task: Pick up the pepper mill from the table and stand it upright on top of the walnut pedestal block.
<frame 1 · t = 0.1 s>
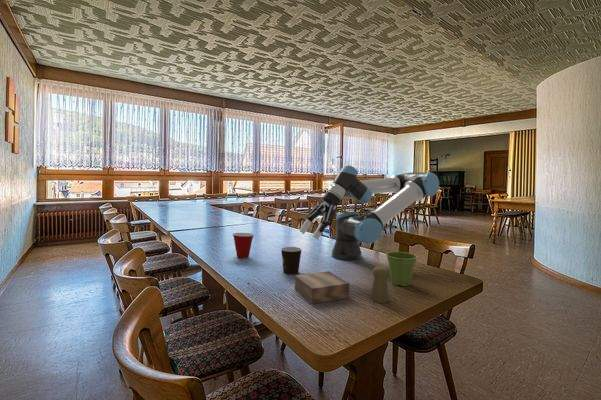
hand: (307, 235, 134), 15 cm above the table, tool tilted 35°, fingers open, 13 cm apart
plant pot: (400, 283, 120), on the table
walnut pedestal: (320, 293, 108), on the table
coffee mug: (291, 271, 133), on the table
pepper mill: (379, 299, 104), on the table
plastic cup: (243, 257, 154), on the table
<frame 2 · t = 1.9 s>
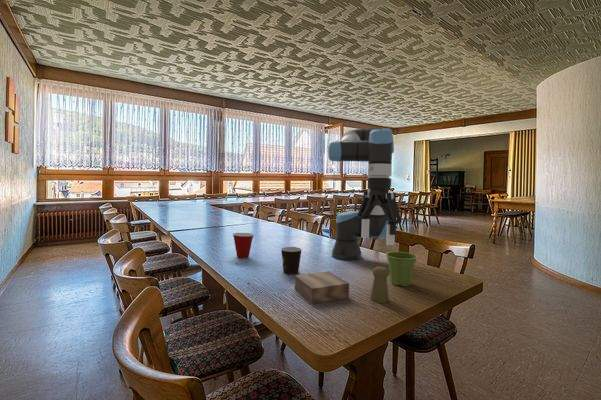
hand: (376, 241, 103), 20 cm above the table, tool pointing down, fingers open, 13 cm apart
nothing on the table moved.
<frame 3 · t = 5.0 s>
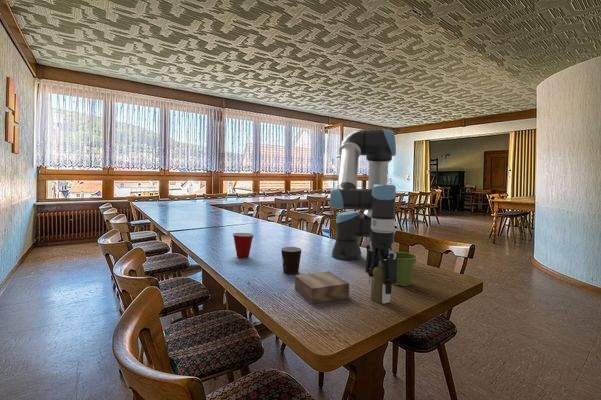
hand: (379, 298, 103), 0 cm above the table, tool pointing down, fingers closed on pepper mill, 6 cm apart
pepper mill: (379, 299, 104), on the table, touching gripper
everything else where it was.
when the fingers open (6 cm above the table, at t = 10.9 s): pepper mill drops 1 cm, resting on walnut pedestal.
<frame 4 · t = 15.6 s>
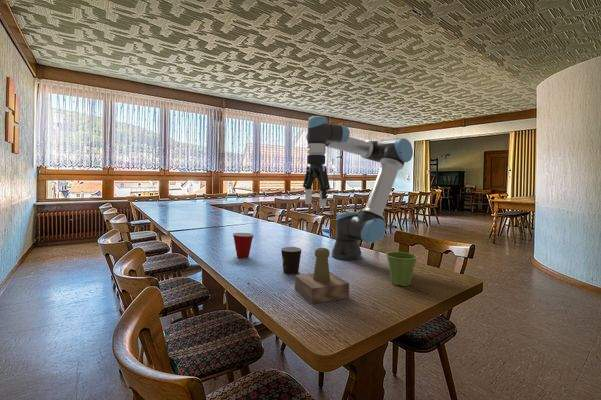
hand: (315, 205, 129), 29 cm above the table, tool pointing down, fingers open, 13 cm apart
pepper mill: (321, 279, 108), point 5 cm above the table, touching walnut pedestal
everything else where it was.
at the end: pepper mill inside the target area on the walnut pedestal (0.1 cm from its centre), point 4.8 cm above the walnut pedestal's base; pepper mill tilted 0°; the gripper is holding nothing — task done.
